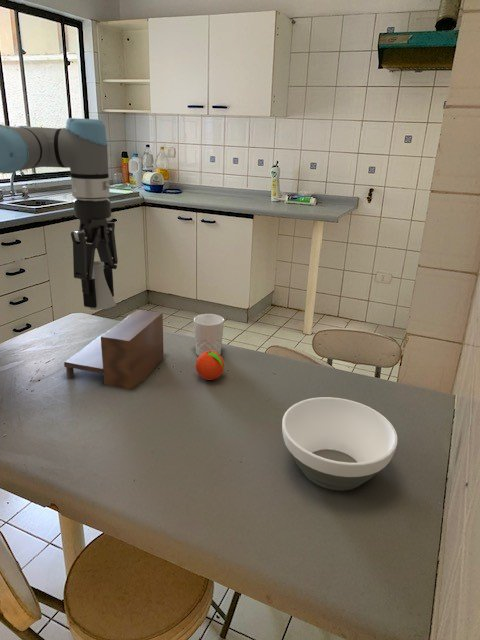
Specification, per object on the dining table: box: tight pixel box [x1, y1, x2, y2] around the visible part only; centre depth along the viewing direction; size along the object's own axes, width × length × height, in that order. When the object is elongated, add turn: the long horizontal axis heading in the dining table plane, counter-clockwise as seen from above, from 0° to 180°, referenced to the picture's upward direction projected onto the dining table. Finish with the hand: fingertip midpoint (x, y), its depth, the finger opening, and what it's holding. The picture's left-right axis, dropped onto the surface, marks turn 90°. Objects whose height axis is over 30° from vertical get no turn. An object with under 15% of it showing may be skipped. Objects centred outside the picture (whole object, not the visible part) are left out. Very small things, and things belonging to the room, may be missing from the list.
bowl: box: [281, 396, 398, 491], centre depth 82 cm, size 20×20×10 cm
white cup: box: [193, 313, 225, 357], centre depth 124 cm, size 8×8×10 cm
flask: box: [85, 260, 117, 311], centre depth 104 cm, size 7×7×10 cm
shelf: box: [63, 309, 165, 391], centre depth 113 cm, size 17×18×13 cm
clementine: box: [195, 351, 225, 381], centre depth 111 cm, size 8×7×7 cm
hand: (99, 301), depth 106 cm, fingers closed on flask, 7 cm apart
